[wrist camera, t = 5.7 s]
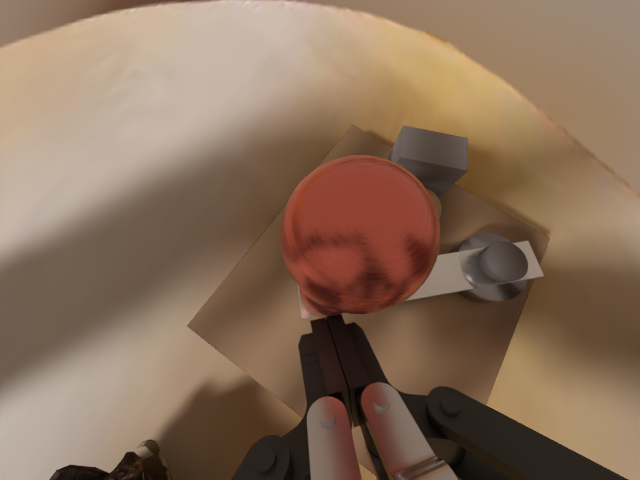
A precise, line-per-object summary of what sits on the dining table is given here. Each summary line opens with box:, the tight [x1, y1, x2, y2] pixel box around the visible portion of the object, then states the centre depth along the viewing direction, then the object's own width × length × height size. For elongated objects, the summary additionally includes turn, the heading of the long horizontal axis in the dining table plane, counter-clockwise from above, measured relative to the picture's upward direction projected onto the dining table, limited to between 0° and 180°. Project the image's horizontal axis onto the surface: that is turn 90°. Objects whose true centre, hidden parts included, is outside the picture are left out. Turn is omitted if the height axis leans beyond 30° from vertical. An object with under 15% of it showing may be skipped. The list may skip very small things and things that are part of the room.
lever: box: [280, 155, 544, 320], centre depth 11 cm, size 16×4×14 cm, turn 99°
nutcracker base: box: [187, 125, 550, 475], centre depth 17 cm, size 18×20×6 cm
